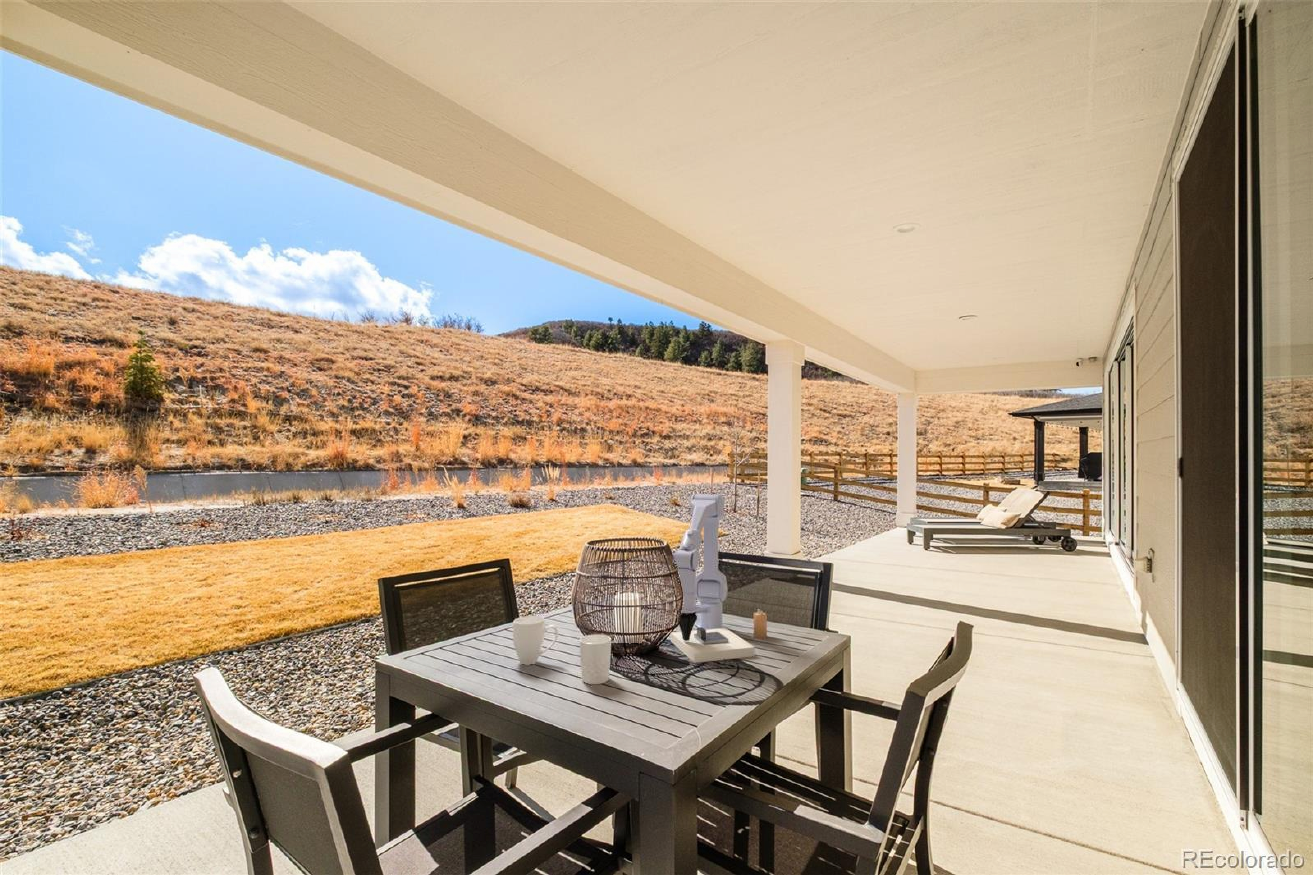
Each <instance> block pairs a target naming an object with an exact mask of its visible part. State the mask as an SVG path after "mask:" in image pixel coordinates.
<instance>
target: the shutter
mask: <svg viewBox="0 0 1313 875" xmlns="http://www.w3.org/2000/svg"><path fill="white" fill-rule="evenodd" d="M696 630H697V634H694V637H695V638H696V639H698V640H699V641H700V642H701V643H703V644H712V643H722V642H728V638H726V637H725V636H723V635H722V634H720V633H719V632H709V633H706V630H705V629H704V628H702V627H700V628H698V627H696Z"/></svg>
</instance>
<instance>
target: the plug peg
mask: <svg viewBox="0 0 1313 875" xmlns="http://www.w3.org/2000/svg"><path fill="white" fill-rule="evenodd" d="M763 611H764V610H761V609H759V608H758V609H757V612H753V638H755V639H759V640H760V639H761V640H762V639H763V640H764V639H767V638H768V626H767V625H768V617H767V613H765V612H763Z"/></svg>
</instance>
